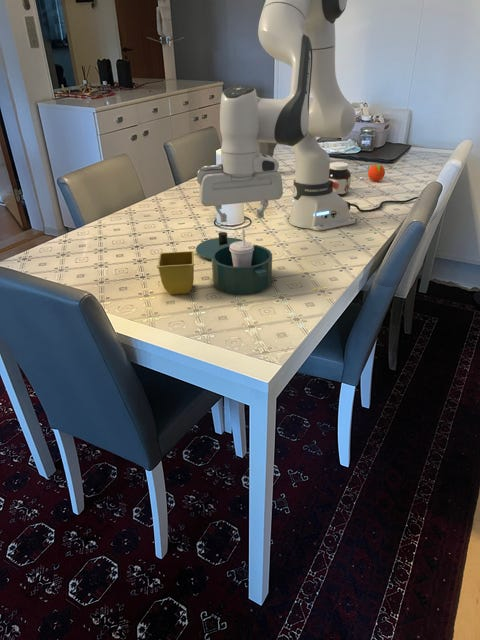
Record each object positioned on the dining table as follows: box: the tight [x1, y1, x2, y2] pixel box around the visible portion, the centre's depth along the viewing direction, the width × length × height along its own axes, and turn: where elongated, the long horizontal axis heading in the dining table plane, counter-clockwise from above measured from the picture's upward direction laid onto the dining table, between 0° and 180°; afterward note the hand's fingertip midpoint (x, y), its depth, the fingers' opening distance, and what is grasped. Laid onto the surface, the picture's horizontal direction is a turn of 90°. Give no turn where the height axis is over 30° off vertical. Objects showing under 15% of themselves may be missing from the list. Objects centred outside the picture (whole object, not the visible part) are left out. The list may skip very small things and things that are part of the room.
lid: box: [195, 231, 243, 261], centre depth 147 cm, size 17×17×6 cm
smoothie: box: [229, 228, 255, 267], centre depth 127 cm, size 6×6×14 cm
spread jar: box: [329, 161, 352, 198], centre depth 193 cm, size 12×11×12 cm
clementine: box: [367, 164, 386, 182], centre depth 207 cm, size 8×7×7 cm
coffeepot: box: [258, 141, 278, 158], centre depth 218 cm, size 15×9×18 cm, turn 103°
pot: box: [211, 244, 273, 296], centre depth 129 cm, size 16×21×8 cm
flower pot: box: [157, 250, 195, 295], centre depth 125 cm, size 9×9×9 cm
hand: (241, 219), depth 122 cm, fingers open, 8 cm apart
